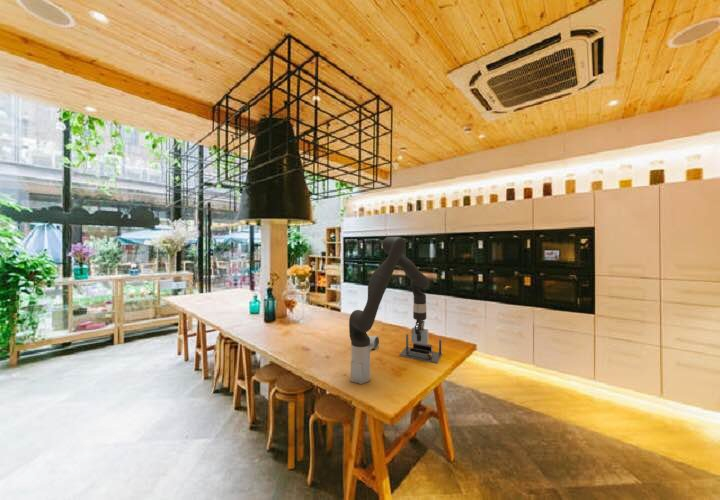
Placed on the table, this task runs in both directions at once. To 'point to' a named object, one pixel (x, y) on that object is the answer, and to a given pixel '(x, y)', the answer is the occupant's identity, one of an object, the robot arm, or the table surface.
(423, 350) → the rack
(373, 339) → the ceramic mug
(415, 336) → the grey rectangular block
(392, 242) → the robot arm
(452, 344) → the table surface
